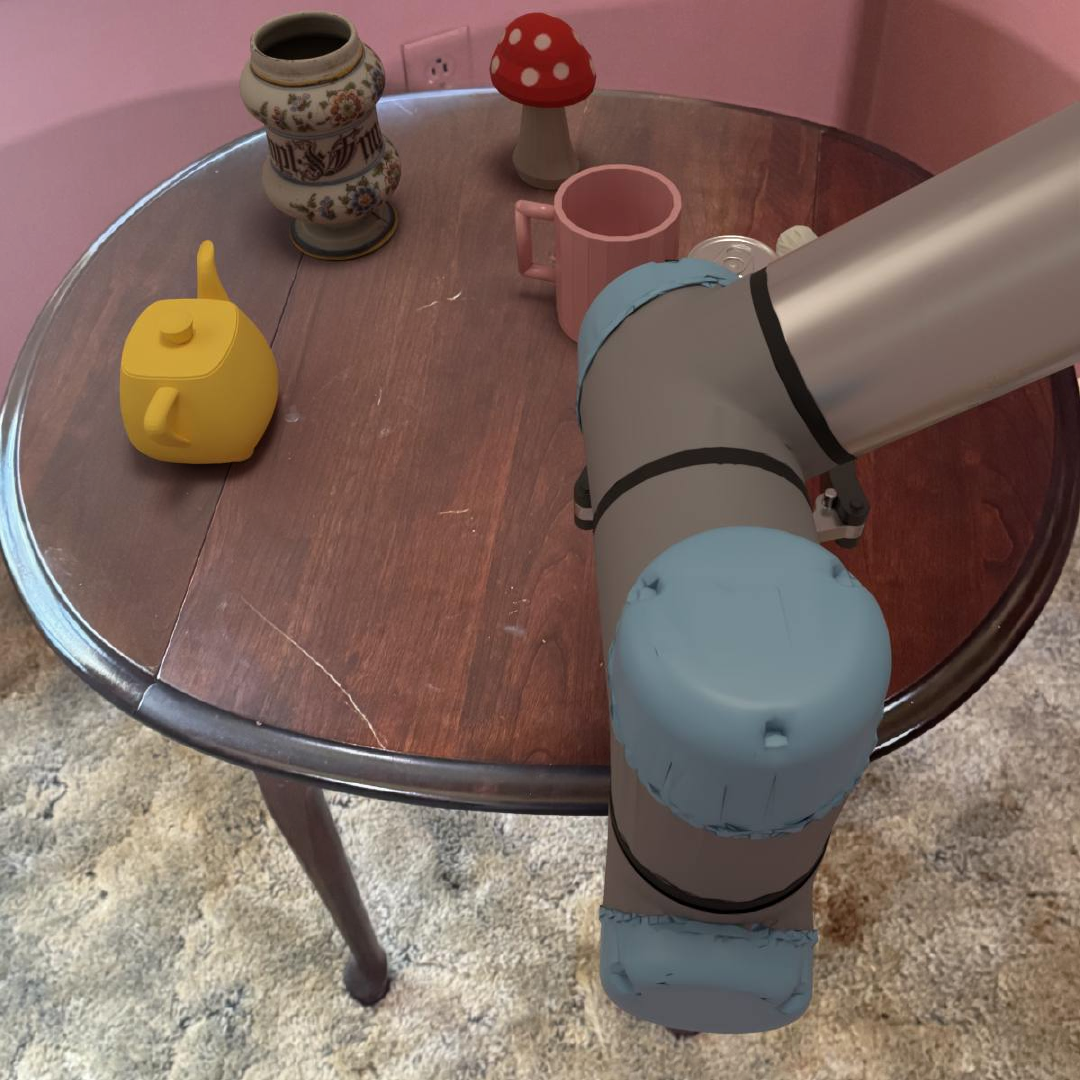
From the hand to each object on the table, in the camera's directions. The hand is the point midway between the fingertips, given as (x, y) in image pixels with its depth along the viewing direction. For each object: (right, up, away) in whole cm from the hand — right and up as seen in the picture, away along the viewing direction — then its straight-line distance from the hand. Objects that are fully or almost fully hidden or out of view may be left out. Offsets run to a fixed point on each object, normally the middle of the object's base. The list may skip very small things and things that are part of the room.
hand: (724, 282), depth 61 cm
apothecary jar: (-28, +14, +40) cm, 51 cm away
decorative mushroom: (-10, +20, +44) cm, 49 cm away
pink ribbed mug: (-6, +5, +32) cm, 33 cm away
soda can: (0, -8, +2) cm, 8 cm away
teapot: (-35, -5, +26) cm, 44 cm away
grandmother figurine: (+9, 0, +27) cm, 29 cm away
